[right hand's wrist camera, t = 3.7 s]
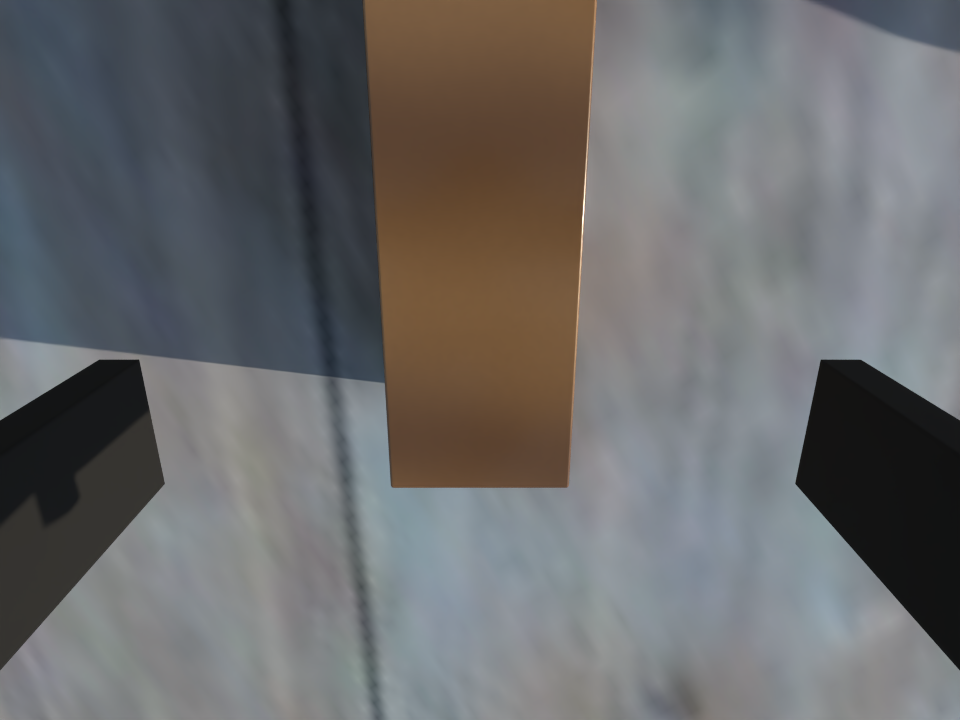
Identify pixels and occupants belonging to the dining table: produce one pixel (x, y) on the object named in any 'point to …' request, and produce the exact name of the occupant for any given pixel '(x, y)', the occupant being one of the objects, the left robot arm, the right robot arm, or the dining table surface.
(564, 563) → the dining table surface
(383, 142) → the post
